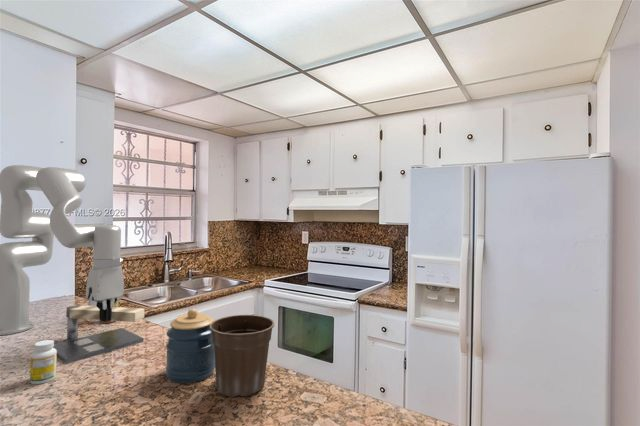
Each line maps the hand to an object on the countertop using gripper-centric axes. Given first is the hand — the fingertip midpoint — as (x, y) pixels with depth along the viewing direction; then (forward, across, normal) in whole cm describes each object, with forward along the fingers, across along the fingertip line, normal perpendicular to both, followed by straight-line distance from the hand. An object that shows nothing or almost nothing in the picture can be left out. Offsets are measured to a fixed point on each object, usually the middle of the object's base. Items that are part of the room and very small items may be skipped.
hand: (105, 320), depth 111 cm
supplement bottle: (+9, +21, +6) cm, 23 cm away
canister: (+9, +1, +37) cm, 38 cm away
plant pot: (+9, +1, +54) cm, 54 cm away
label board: (+9, -1, -6) cm, 11 cm away
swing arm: (+1, -3, -5) cm, 6 cm away
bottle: (+9, -18, -23) cm, 30 cm away
